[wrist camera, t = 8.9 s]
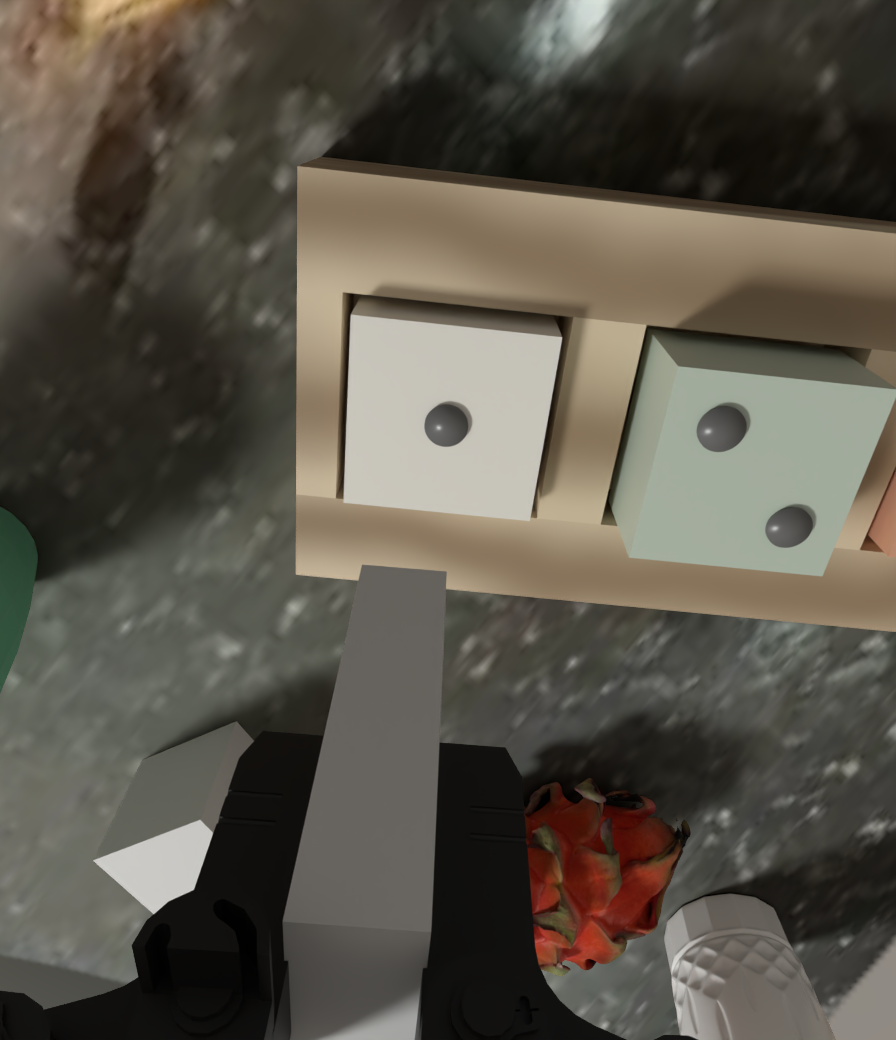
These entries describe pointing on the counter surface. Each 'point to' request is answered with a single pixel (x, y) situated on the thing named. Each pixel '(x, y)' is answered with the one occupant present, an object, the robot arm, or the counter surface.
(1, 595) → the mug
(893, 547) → the key three
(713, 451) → the key two
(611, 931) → the dragon fruit
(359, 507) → the key panel
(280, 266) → the counter surface
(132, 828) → the white cube
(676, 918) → the white cup
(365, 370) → the key one
